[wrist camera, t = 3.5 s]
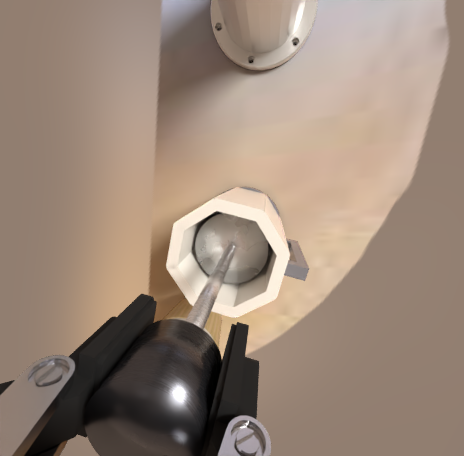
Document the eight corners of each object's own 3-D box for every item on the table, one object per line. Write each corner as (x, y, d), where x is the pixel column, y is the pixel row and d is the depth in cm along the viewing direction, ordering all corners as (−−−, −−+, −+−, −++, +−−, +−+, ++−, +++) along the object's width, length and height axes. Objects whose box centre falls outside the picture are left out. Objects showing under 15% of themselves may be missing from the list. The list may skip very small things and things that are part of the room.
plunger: (205, 203, 24) (32, 290, 6) (276, 222, 24) (302, 373, 6) (191, 269, 26) (26, 478, 8) (257, 288, 25) (233, 557, 8)
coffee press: (216, 178, 35) (176, 184, 20) (303, 200, 34) (331, 223, 19) (202, 246, 38) (157, 298, 23) (282, 268, 37) (292, 338, 22)
